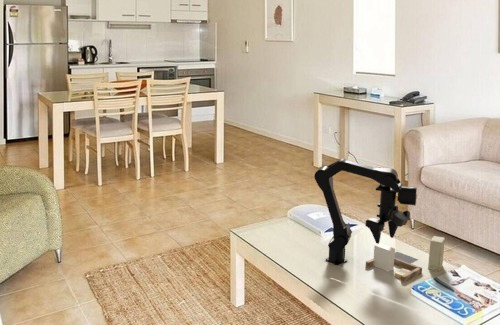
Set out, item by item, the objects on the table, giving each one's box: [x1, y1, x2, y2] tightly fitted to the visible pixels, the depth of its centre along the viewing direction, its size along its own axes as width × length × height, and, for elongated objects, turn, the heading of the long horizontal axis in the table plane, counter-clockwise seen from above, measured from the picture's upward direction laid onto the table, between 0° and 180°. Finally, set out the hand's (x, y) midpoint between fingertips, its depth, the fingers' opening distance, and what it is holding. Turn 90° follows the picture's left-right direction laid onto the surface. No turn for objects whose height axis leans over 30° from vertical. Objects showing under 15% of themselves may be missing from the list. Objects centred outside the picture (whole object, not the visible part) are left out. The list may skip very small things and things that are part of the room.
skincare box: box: [427, 235, 446, 272], centre depth 199 cm, size 6×4×12 cm
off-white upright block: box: [372, 242, 396, 273], centre depth 198 cm, size 4×7×9 cm, turn 40°
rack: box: [365, 257, 423, 283], centre depth 197 cm, size 12×17×2 cm
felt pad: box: [394, 251, 419, 264], centre depth 208 cm, size 8×10×1 cm
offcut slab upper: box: [394, 267, 411, 279], centre depth 193 cm, size 6×4×1 cm, turn 136°
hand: (384, 240), depth 197 cm, fingers open, 9 cm apart
